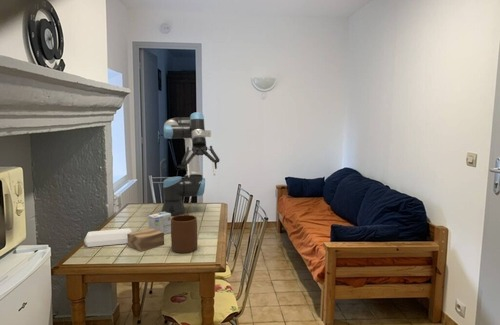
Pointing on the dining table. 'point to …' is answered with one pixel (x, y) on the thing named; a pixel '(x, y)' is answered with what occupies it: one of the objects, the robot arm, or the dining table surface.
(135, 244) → the walnut block
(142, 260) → the dining table surface
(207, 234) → the dining table surface
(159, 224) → the light bulb box
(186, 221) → the mug
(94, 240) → the crystal
